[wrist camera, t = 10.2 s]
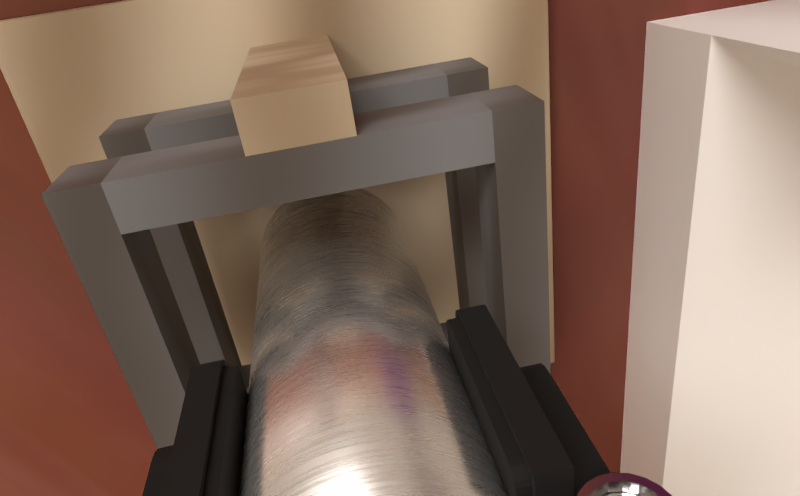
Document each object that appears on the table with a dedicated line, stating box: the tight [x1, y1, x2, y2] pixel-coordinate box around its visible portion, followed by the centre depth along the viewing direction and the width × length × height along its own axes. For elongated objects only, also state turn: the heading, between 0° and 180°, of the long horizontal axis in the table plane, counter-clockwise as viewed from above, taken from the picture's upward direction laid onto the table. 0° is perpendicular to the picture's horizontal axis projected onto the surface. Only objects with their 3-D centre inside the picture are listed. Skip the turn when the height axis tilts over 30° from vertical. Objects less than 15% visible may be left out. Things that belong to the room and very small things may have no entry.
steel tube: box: [239, 188, 507, 496], centre depth 11 cm, size 4×4×12 cm
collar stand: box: [0, 0, 555, 449], centre depth 16 cm, size 14×14×7 cm
